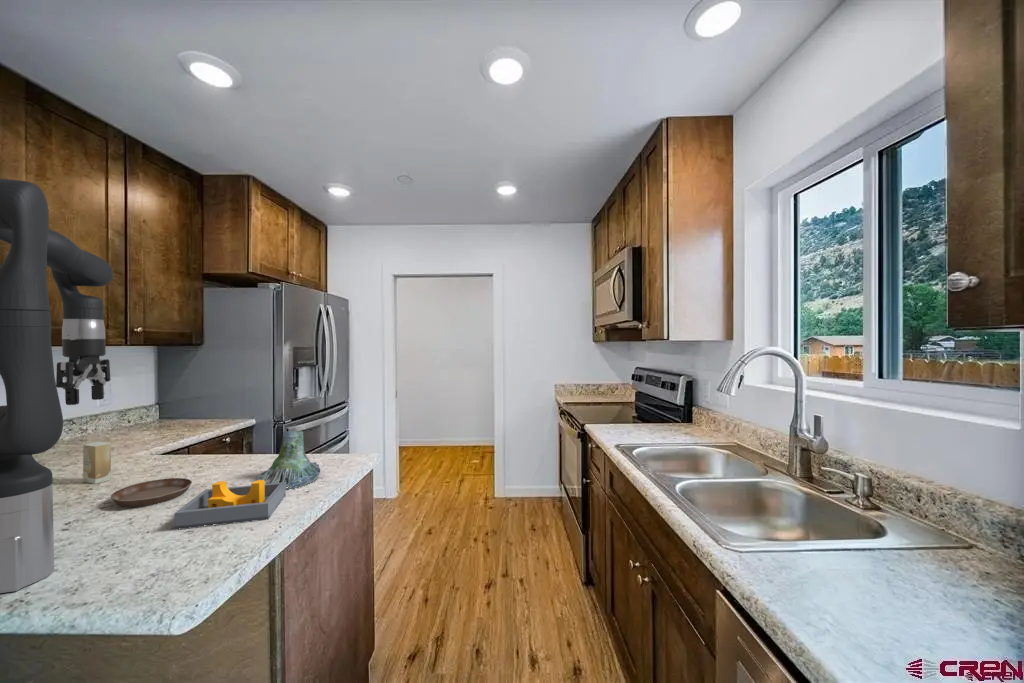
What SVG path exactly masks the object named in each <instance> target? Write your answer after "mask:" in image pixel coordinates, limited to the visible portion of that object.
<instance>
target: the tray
mask: <svg viewBox="0 0 1024 683" xmlns="http://www.w3.org/2000/svg"><path fill="white" fill-rule="evenodd" d="M227 487H228V486H227ZM228 489H229V490H230V491H231V492H232V493H234V494H236V495H240V496H243V495H247V494H248V493H249V491H250V489H251V484H250V485H249V484H248V485H241V486H239V485H238V486H229V487H228ZM286 491H287V490H286V485H285V482H281V483H271V484H265V502H262V503H252V504H243V505H233V506H223V507H213V508H208V499H210V498H211V497H212V488H210V489H209V488H206V489H204V490H203V491H201V492H200V493H199V494H198V495H196V496H195V497H193V499H191V500H190V501H188V502H186V504H185V505H183V506H182V507H181V508H179V509H178V510H176V512H174V530H175V529H178V530H180V529H179V528H187V529H190V528H189V527H196V528H199V527H198V526H204V525H213V524H223V523H232V524H234V523H233V522H240V523H245V522H244V521H249V522H253V521H252V520H258V521H266V519H267V520H269V519H270V518H271V516H272V515H273V513H275V511H276V510H277V508H278V507H279V506H280V504H281V503H282V502H281V501H283V500H284V499H285V498H286V496H287V494H286V493H287V492H286ZM283 498H284V499H283ZM278 505H279V506H278ZM223 525H224V524H223Z"/></svg>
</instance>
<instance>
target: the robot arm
mask: <svg viewBox="0 0 1024 683" xmlns="http://www.w3.org/2000/svg"><path fill="white" fill-rule="evenodd" d="M49 212H50V211H49V205H48V200H47V198H46V195H45V193H44V192H43V190H42V189H41V187H40V186H38V185H37V184H35V183H34V182H31V181H26V180H21V179H20V180H19V179H11V178H10V179H8V178H1V177H0V241H2V242H5V243H7V244H9V245H10V247H9V250H8V254H7V256H6V257H5V258H4V260H3V262H2V263H1V265H0V376H1V379H2V382H3V385H4V389H5V399H6V400H5V401H6V402H5V403H6V405H0V594H3V593H11V592H17V591H20V590H21V589H22V588H25V587H27V586H29V585H31V584H32V585H33V584H35V583H37V582H39V581H42V580H43V579H45V578H47V577H48V576H50V575H51V574H52V573H53V572H54V570H55V545H54V544H55V542H54V540H55V538H54V537H55V536H54V493H53V492H54V489H53V471H52V470H51V469H50V468H48V467H47V466H44V465H43V464H41V463H39V462H38V461H37V460H36V459H35V458H34V456H33V455H39V454H42V453H45V452H48V451H49V450H50V449H52V448H53V447H54V446H55V445H56V444H57V443H58V442H59V440H60V438H61V436H62V434H63V431H64V430H63V429H64V418H63V412H62V411H63V410H62V406H61V402H60V396H59V392H58V388H61V389H63V390H64V391H65V392H64V398H65V404H66V405H67V406H74V405H75V406H76V405H79V404H80V389H79V387H80V386H81V383H82V382H84V381H86V380H89V383H90V384H91V388H90V389H91V400H93V401H95V400H98V401H99V400H103V399H104V398H105V395H104V394H105V390H104V389H105V388H104V387H105V385H106V383H108V382H110V381H111V369H110V368H111V366H110V363H111V362H110V360H109V358H107V359H106V358H105V359H104V358H103V359H100V357H104V356H106V354H107V352H106V351H107V350H106V327H105V321H104V319H105V318H104V302H103V300H102V298H100V297H98V296H94V295H89V294H88V295H87V294H83V293H81V292H80V291H79V289H78V287H92V288H93V287H104V286H107V285H109V284H110V283H111V282H112V280H113V279H114V271H113V269H112V267H111V265H110V263H108V262H107V261H106V260H104V259H103V258H102V257H100V256H98V255H96V254H93V253H92V252H89V251H87V250H84V249H81V248H80V247H79V246H78V245H77V244H76V243H74V241H72V240H71V239H69V238H68V237H67V236H66V235H63V234H62V233H59V232H57V231H55V230H53V229H50V228H49V224H50V217H49V216H50V215H49V214H50V213H49ZM47 268H50V269H51V270H50V272H51V275H52V277H53V280H54V283H55V284H56V286H57V289H58V291H59V292H58V293H59V295H60V298H61V301H62V302H61V303H62V315H63V316H62V319H63V321H62V327H61V340H62V341H61V342H62V343H61V346H62V348H61V350H62V356H63V358H64V357H65V358H68V361H62V362H61V361H60V362H56V378H55V366H54V359H53V347H52V321H51V320H52V319H51V317H52V316H51V306H50V299H49V298H50V297H49V288H48V286H49V285H48V269H47ZM63 380H64V382H63Z"/></svg>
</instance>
